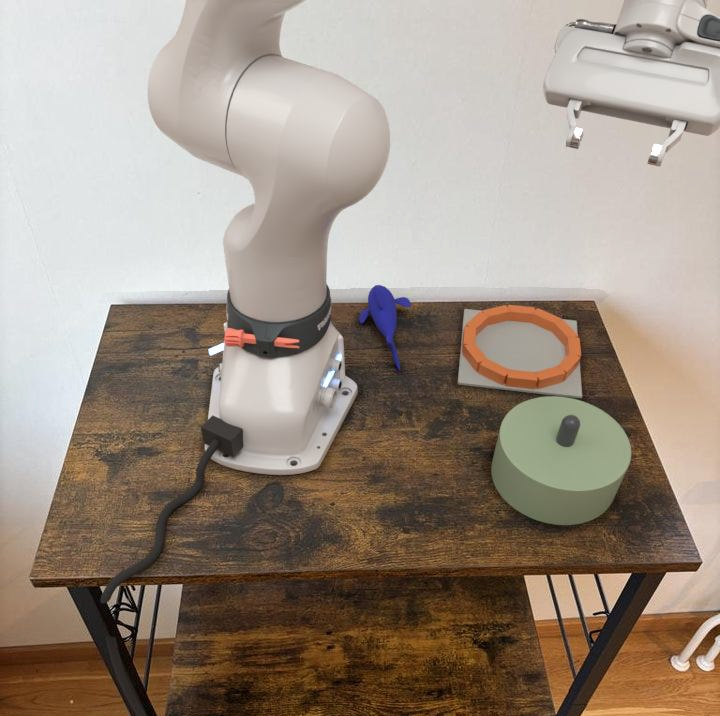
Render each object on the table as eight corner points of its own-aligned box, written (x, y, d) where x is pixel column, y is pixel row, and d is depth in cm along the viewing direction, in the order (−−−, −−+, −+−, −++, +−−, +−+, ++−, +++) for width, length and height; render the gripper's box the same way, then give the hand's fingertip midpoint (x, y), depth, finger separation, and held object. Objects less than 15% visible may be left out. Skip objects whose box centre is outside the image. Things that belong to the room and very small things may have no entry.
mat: (581, 398, 94) (582, 396, 94) (457, 384, 95) (457, 382, 95) (576, 322, 104) (576, 320, 104) (464, 310, 106) (464, 308, 105)
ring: (581, 394, 94) (584, 385, 93) (459, 381, 95) (461, 372, 94) (574, 320, 104) (577, 311, 103) (464, 309, 105) (466, 300, 104)
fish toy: (359, 314, 107) (344, 277, 102) (409, 297, 106) (396, 258, 101) (373, 382, 97) (357, 345, 92) (428, 364, 96) (414, 325, 91)
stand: (620, 533, 80) (649, 476, 73) (489, 516, 81) (504, 458, 74) (610, 439, 90) (634, 380, 82) (492, 425, 91) (506, 366, 83)
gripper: (564, 0, 82) (522, 124, 83) (755, 31, 77) (707, 163, 78) (564, 31, 88) (526, 146, 89) (742, 63, 83) (698, 184, 84)
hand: (612, 154), depth 84 cm, fingers open, 8 cm apart
